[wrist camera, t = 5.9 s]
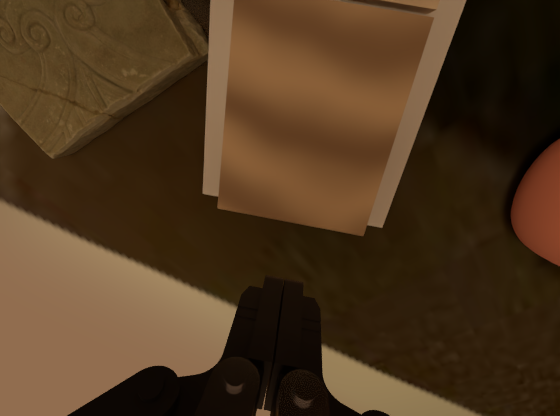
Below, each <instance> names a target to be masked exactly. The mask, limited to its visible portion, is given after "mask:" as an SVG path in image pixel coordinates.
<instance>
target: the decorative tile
mask: <svg viewBox="0 0 560 416" xmlns="http://www.w3.org/2000/svg"><path fill="white" fill-rule="evenodd" d="M208 51H209V42H208V38H207V36H206V35H205V33H204V31H203V29H202V27H201V25H200V24H199V23H197V21H196V20H195V18H194V17H193V16H192V14H191V13H190V12H189V11H188V10H187V9H186V8H185V7H184V6H183V4H182V2H181V0H0V105H1V106H2V107H3V108H4V109H5V110H6V112H7V113H8V114H9V115H10V116H11V117H12V118H13V120H14V121H15V122H16V123H18V124H19V126H20V127H21V128H22V129H23V130H24V131H25V132H26V133H27V134H28V135H29V136H30V137H31V138H32V139H33V140H34V141H35V142H36V143H37V144H38V145H39V147H40V148H41V149H42V150H43V151H44V152H45V153H46V154H47V155H48V156H50V157H51V158H60V157H63V156H67V155H70V154H73V153H75V152H76V151H78V150H79V149H81V148H82V147H84V146H85V145H87V144H88V143H90V142H91V141H92V140H93V139H95V138H96V137H98V136H99V135H101V134H103V133H104V132H106V131H107V130H109V129H110V128H111V127H113V126H114V125H116V124H117V123H118V122H120V121H121V120H122V119H124V117H126V116H127V115H129V114H130V113H132V112H133V111H135V110H136V109H138V108H139V107H141V106H143V105H144V104H146V103H147V102H149V101H151V100H152V99H153V98H155V97H156V96H158V95H159V94H160V93H162V92H163V91H164V90H166V89H167V88H168V87H170V86H171V85H172V84H174V83H175V82H177V81H178V80H180V79H181V78H183V77H184V76H186V75H187V74H188V73H190V72H191V71H193V70H194V69H196V68H197V67H198V66H200V65H201V64H202V63H204V62H205V61H207V60H208Z"/></svg>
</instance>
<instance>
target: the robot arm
mask: <svg viewBox="0 0 560 416" xmlns="http://www.w3.org/2000/svg"><path fill="white" fill-rule="evenodd" d="M283 280H284V279H283V278H278V277H273V276H268V275H266V276H265V281H264V285H263V288H258V287H253V286H249V287H248V288H247V289H246V290H245V291H244V292H243V294H242V295H241V298H240V301H239V304H238V308H237V311H236V314H235V318H234V321H233V324H232V327H231V330H230V333H229V336H228V339H227V343H226V346H225V349H224V352H223V355H222V357H221V359H220V361H219V362H218V363H217V364H216V365H215V366H214V367H213V368H211V369H210V370H208V371H206V372H204V373H201V374H197V375H190V376H183V377H177V375H176V373H175V372H174V371H173V370H171V369H170V368H167V367H164V366H152V367H148V368H145V369H143V370H141V371H139V372H138V373H136V374H135V375H133V376H131V377H130V378H128V379H126V380H125V381H123V382H121V383H120V384H118V385H117V386H115V387H113V388H112V389H110V390H108V391H107V392H105V393H103V394H102V395H100V396H99V397H97V398H95V399H94V400H92V401H90V402H89V403H87V404H85V405H84V406H82V407H80V408H79V409H78V410H76V411H74V412H72V413H71V414H69V415H68V416H256V411H257V409H262V406H263V401H264V397H265V393H266V398H265V405H264V410H268V411H271V414H270V416H389V415H388V414H386V413H384V412H381V411H377V410H369V411H366V412H364V413H363V414H362V415H361V414H359V413H357V412H356V411H354V410H352V409H350V408H349V407H347V406H345V405H343V404H342V403H340V402H339V401H338V400H337V399H335V398H334V397H333V396H332V395H331V393H330V392H329V390H328V389H327V387H326V385H325V383H324V380H323V375H322V348H321V324H320V322H321V318H320V308H319V306H318V304H317V302H316V300H315V298H310V297H305V296H303V282H299V281H294V280H289V279H285V281H284V286H283ZM282 288H283V290H282ZM266 388H267V391H266Z"/></svg>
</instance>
